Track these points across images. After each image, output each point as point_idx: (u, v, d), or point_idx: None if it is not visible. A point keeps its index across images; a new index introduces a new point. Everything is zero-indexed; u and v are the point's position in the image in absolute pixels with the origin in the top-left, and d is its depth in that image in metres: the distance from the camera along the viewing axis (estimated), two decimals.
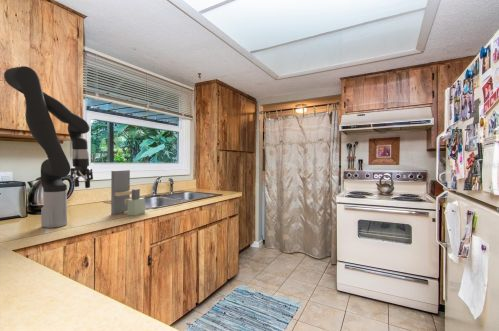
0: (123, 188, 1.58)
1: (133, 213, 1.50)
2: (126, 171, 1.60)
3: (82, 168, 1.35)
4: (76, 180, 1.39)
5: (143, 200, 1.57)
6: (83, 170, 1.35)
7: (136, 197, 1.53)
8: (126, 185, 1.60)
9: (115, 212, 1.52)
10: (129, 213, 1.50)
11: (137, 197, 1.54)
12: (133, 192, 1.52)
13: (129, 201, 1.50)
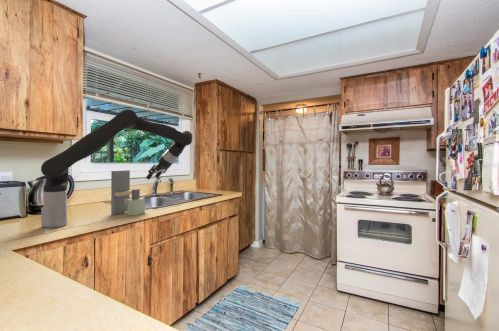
0: (123, 188, 1.58)
1: (133, 213, 1.50)
2: (126, 171, 1.60)
3: None
4: (159, 173, 1.55)
5: (143, 200, 1.57)
6: None
7: (136, 197, 1.53)
8: (126, 185, 1.60)
9: (115, 212, 1.52)
10: (129, 213, 1.50)
11: (137, 197, 1.54)
12: (133, 192, 1.52)
13: (129, 201, 1.50)
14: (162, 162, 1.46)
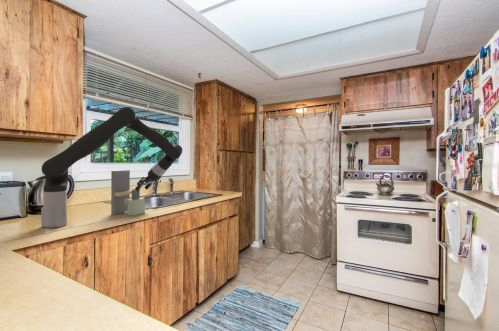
0: (123, 188, 1.58)
1: (133, 213, 1.50)
2: (126, 171, 1.60)
3: None
4: (148, 184, 1.56)
5: (143, 200, 1.57)
6: None
7: (136, 197, 1.53)
8: (126, 185, 1.60)
9: (115, 212, 1.52)
10: (129, 213, 1.50)
11: (137, 197, 1.54)
12: (133, 192, 1.52)
13: (129, 201, 1.50)
14: (151, 175, 1.47)
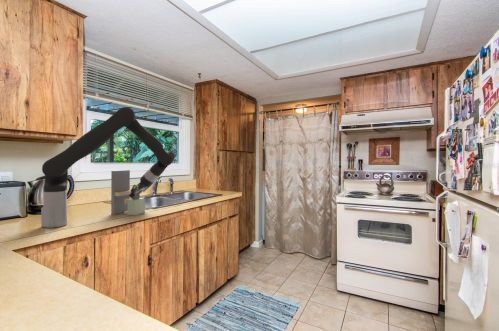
0: (123, 188, 1.58)
1: (133, 213, 1.50)
2: (126, 171, 1.60)
3: None
4: None
5: (143, 200, 1.57)
6: None
7: (136, 197, 1.53)
8: (126, 185, 1.60)
9: (115, 212, 1.52)
10: (129, 213, 1.50)
11: (137, 197, 1.54)
12: None
13: (129, 201, 1.50)
14: (143, 181, 1.48)
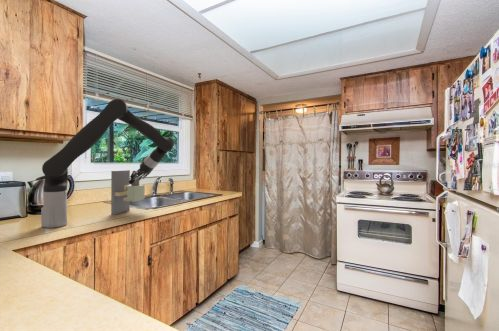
0: (123, 188, 1.58)
1: (133, 199, 1.49)
2: (126, 171, 1.60)
3: None
4: None
5: (143, 187, 1.56)
6: None
7: (136, 183, 1.53)
8: None
9: (115, 212, 1.52)
10: (129, 199, 1.50)
11: (137, 184, 1.54)
12: None
13: (129, 187, 1.50)
14: (143, 167, 1.48)
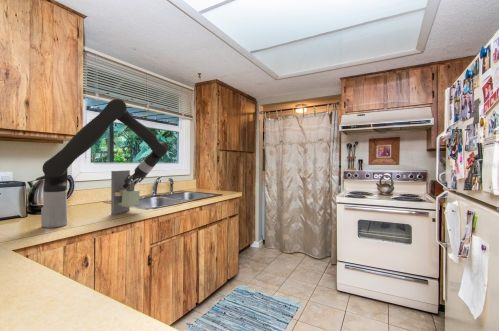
0: (123, 188, 1.58)
1: (127, 204, 1.51)
2: (126, 171, 1.60)
3: None
4: None
5: (138, 192, 1.57)
6: None
7: (131, 189, 1.54)
8: None
9: (115, 212, 1.52)
10: (123, 204, 1.51)
11: (132, 189, 1.55)
12: None
13: (123, 192, 1.51)
14: (137, 171, 1.49)
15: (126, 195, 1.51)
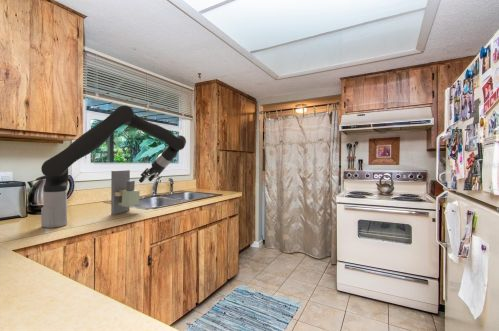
0: (123, 188, 1.58)
1: (127, 204, 1.51)
2: (126, 171, 1.60)
3: None
4: (152, 176, 1.56)
5: (138, 192, 1.57)
6: None
7: (131, 189, 1.54)
8: (126, 185, 1.60)
9: (115, 212, 1.52)
10: (123, 204, 1.51)
11: (132, 189, 1.55)
12: (128, 184, 1.53)
13: (123, 192, 1.51)
14: (155, 166, 1.46)
15: (126, 195, 1.51)
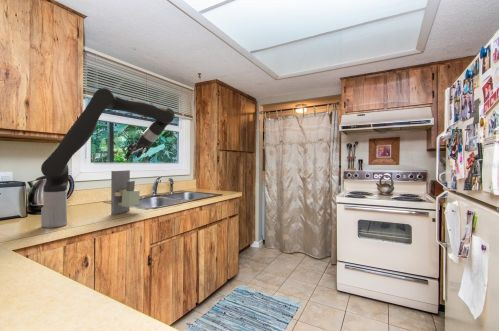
0: (123, 188, 1.58)
1: (127, 204, 1.51)
2: (126, 171, 1.60)
3: None
4: (140, 152, 1.50)
5: (138, 192, 1.57)
6: None
7: (131, 189, 1.54)
8: (126, 185, 1.60)
9: (115, 212, 1.52)
10: (123, 204, 1.51)
11: (132, 189, 1.55)
12: (128, 184, 1.53)
13: (123, 192, 1.51)
14: (142, 140, 1.40)
15: (126, 195, 1.51)
